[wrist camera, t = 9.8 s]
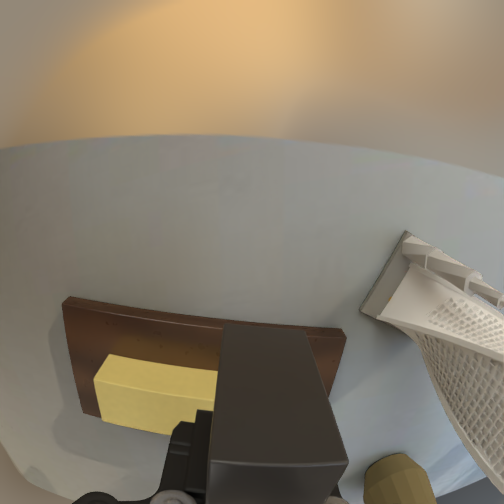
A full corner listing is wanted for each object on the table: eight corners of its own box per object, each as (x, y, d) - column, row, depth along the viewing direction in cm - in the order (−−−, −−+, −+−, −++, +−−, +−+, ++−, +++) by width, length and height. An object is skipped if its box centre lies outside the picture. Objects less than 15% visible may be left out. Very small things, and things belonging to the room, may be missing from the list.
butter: (108, 353, 22) (92, 378, 19) (234, 372, 23) (233, 402, 19) (115, 394, 23) (102, 421, 20) (229, 412, 24) (228, 442, 21)
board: (69, 295, 23) (61, 303, 21) (342, 328, 24) (347, 337, 22) (88, 403, 26) (83, 413, 24) (309, 432, 27) (312, 442, 25)
